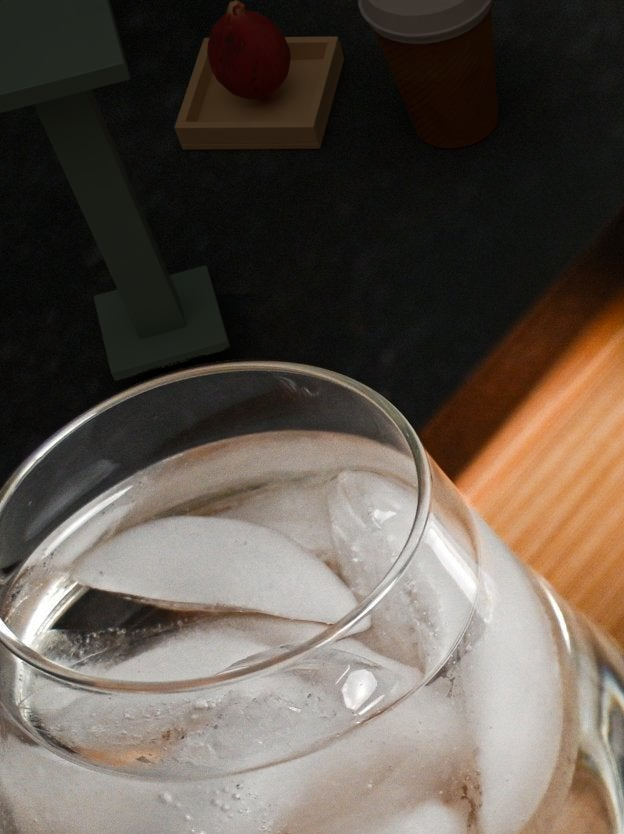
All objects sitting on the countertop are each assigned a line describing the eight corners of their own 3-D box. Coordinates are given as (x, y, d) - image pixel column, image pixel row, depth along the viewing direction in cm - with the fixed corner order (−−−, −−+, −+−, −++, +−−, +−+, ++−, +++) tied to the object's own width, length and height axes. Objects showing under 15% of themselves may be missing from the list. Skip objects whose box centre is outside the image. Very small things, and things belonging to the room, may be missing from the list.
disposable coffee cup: (372, 152, 142) (331, 9, 132) (422, 71, 147) (386, -74, 136) (492, 173, 140) (460, 29, 130) (539, 90, 145) (511, -56, 135)
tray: (320, 149, 142) (313, 126, 141) (182, 150, 143) (173, 127, 141) (344, 58, 148) (338, 36, 146) (211, 60, 148) (203, 37, 147)
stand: (108, 388, 130) (-32, 102, 111) (88, 301, 135) (-49, 12, 115) (239, 351, 131) (124, 62, 112) (215, 266, 136) (100, -26, 117)
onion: (277, 130, 143) (246, 36, 136) (210, 114, 144) (176, 20, 137) (315, 81, 146) (286, -13, 139) (249, 66, 147) (217, -28, 140)
